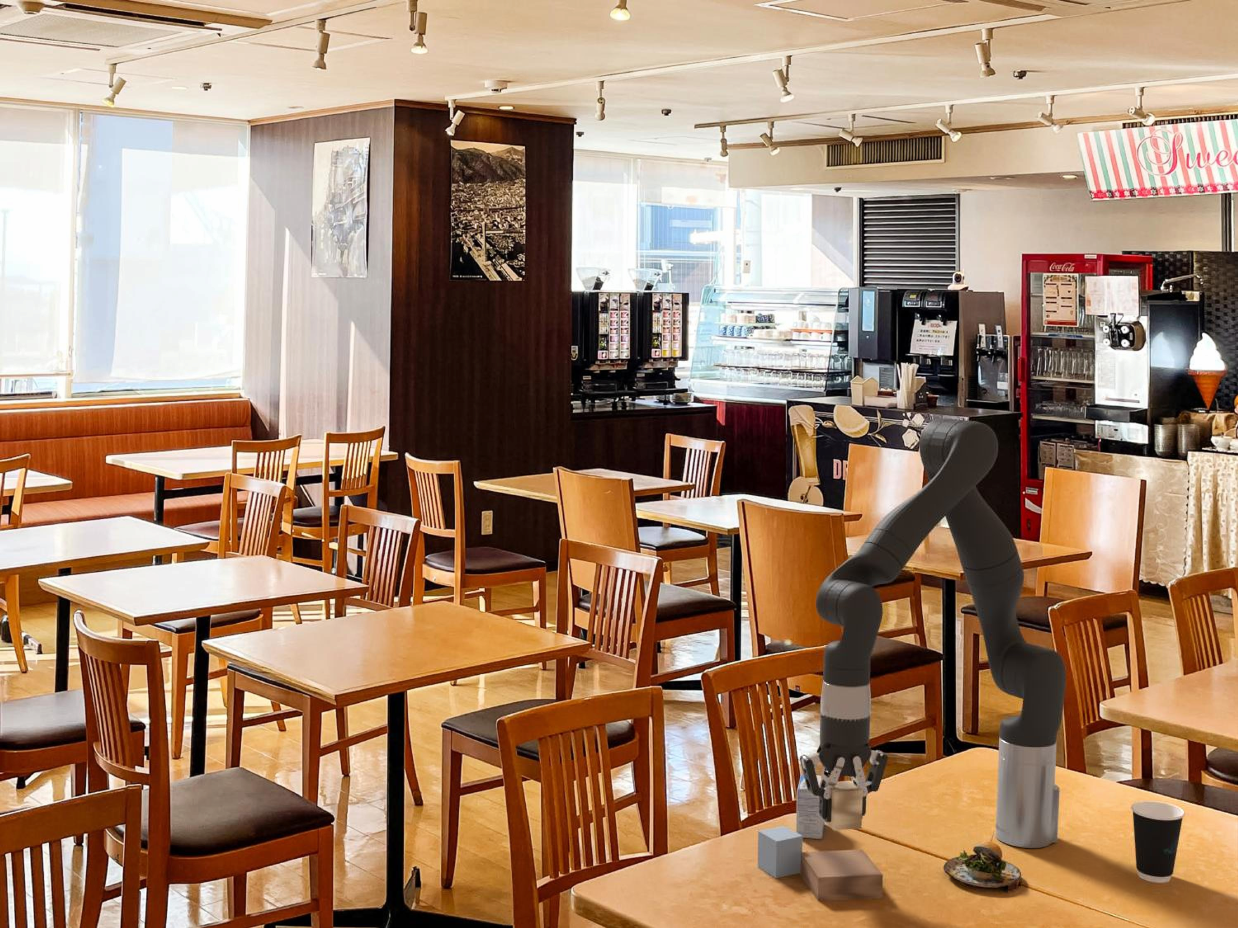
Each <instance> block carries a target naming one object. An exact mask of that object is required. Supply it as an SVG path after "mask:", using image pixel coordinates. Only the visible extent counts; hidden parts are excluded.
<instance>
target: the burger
mask: <svg viewBox="0 0 1238 928" xmlns="http://www.w3.org/2000/svg"><path fill="white" fill-rule="evenodd" d="M994 834H995V831H993V833H992V836H991V838H993V837H994ZM962 851H963V852H959V854H960V855H959V856H955V857H953V858H950V859H949V860H946V862H945V863H944V865H943V871H944V872H947V873H948V874H949V875H950V876H952V878H954V879H956V880H958V881H960V882H962V883H965V884H968V885H971V886H974V887H981V888H994V889H995V888H997V889H998V888H1002V887H1006V886H1007V893H1011V892H1013V893H1014V891H1015V890H1018V889H1019V888H1018V886H1019V884H1020V885H1022V883H1023V882H1022V872H1021V870H1020V869H1019V868H1018V867H1017V866H1016V865H1014V864H1012V863H1011V862H1008V861H1006V860H1003V859H1002V858H1003V852H1002V851H1003V850H1002V848H1001V847H1000V846H999V844H996V843H995V842H993V839H991V840H986V841H981V842H978V843H976V844H975V845H974V847H973V850H972V851H973V853H974V854H970V855H969V854H968V853H967V852H966V850H965V849H963V850H962Z"/></svg>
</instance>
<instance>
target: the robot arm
mask: <svg viewBox="0 0 1238 928" xmlns="http://www.w3.org/2000/svg"><path fill="white" fill-rule="evenodd" d="M918 446H919V448H918V449H919V455H920V460H921V463H922V467H923V468H924V470H925V473H926V475H927V478H928V480H929V482H928V483H927V484H925V485H924V486H923V487H922V488H921V489H920V490H918V491H917V492H916V493H915V494H913V495H912V496H910V497H909V498H907V499H906V500H904V501H903V502H902V503H900V504H899V505H897V506H896V507H894V508H893V509H892V510H890V512H888V513H887V514H886V515H885V516H884V517H883V518H882V519H881V520H880V521H879V523H878V524H876V526H875V527H874V529H873V530H872V532H871V533H870V534H869V535H868V537H867V538H866V539H865V541H864V543H863V544H862V545H861V547H860V549H858V551H856V553H854V554H853V555H851V556H850V557H849V558H848V559H846V560H845V561H844V562H842V564H840V565H839V566H838V567H837V568H836V569H835V570H834V571H833V572H831V573H830V574H829V575H828V576H827V577H826V578H825V580H824V581H823V582H822V583H821V585H820V587H819V589H818V592H817V594H816V598H815V608H816V612H817V614H818V616H819V617H820V618H821V619H822V620H824V621H826V622H827V623H830V624H832V625H837V626H840V627H843V628H842V629H843V630H842V634H841V638H840V640H834V641H831V642H829V643H828V644H827V645H826V646H825V648H824V652H823V669H822V670H823V673H822V677H823V678H822V687H821V694H820V714H819V715H820V716H819V717H820V718H819V746H818V748H817V750H816V752H815V753H812V754H809V755H806V754H800V756H799V761H800V765H801V770H802V775H804V778H805V782H806V785H807V789H808V790H809V791H810V792H812V794H813V795H815V796H819V814H820V816H821V817H822V818H823V820H824V821H825V822H831V811H832V799H831V798H830V797H831V795H832V790H833V789H834V786H835V785H836V784H837V782H838V781H839V778H840V779H841V778H843V777H850V779H851V781H852V782H853V784H856V785H857V786H858V788H861V789H862V790H863V799H862V819H863V818H864V817H863V816H865V815H866V813H867V798H868V797H867V796H868V795H869V794H870V793H872V792H874V793H875V792H877V791H879V790H880V786H881V783H882V779H883V777H884V773H885V770H886V766H887V763H888V759H889V757H888V755H887V754H885V753H884V752H883V751H882V750H880V749H876V750H872V749H871V747H870V743H869V742H870V736H871V735H870V734H871V711H872V703H871V702H872V698H871V696H872V695H871V686H870V685H871V683H870V682H871V657H872V653H873V650H874V648H875V644H876V641H877V639H878V638H877V637H878V633H879V630H880V628H881V624H882V619H883V610H884V609H883V603H882V598H881V596H880V594H879V592H878V591H877V590H876V589H875V586H877V585H878V586H879V585H882V584H883V585H884V584H890V583H892V582H894V581H895V580H896V579H897V578H898V576H899V575H900V574H901V572H902V571H903V569H904V568H905V567H906V565H907V564H908V562H910V560H911V558H912V557H913V556H914V554H915V552H916V551H917V550H918V548H919V547H920V546H921V544H922V543H923V541H925V540H926V538H927V537H928V536H929V535H930V533H931V532H932V530H934V529H935V527H936V526H937V525H938V524H939V523H940V522H941V521H942V520H944V518H945V519H946V522H947V525H948V528H949V531H950V535H951V536H952V539H953V542H954V545H955V548H956V551H957V555H958V558H959V562H960V566H961V568H962V572H963V574H964V578H965V581H966V583H967V586H968V589H969V591H970V594H971V598H972V601H973V603H974V608H975V610H976V614H977V617H978V621H979V624H980V627H981V632H982V636H983V642H984V646H985V650H986V651H985V652H986V657H987V661H988V666H989V667H988V668H989V670H990V671H989V672H990V674H991V677H992V679H993V682H994V684H995V685H996V687H998V689H999V690H1000V691H1001V692H1002V693H1005V694H1007V695H1010V696H1013V697H1015V698H1018V699H1021V700H1022V704H1021V711H1020V714H1018V715H1011V716H1007V717H1005V718H1003V719H1002V720H1001V721H1000V724H999V740H998V742H999V743H998V761H997V763H998V764H997V787H996V789H997V791H996V812H995V814H996V815H995V816H996V817H995V818H996V819H995V837H996V839H997V840H998V841H1000V842H1002V843H1004V844H1007V845H1010V846H1014V847H1019V848H1026V849H1027V848H1028V849H1038V848H1044V847H1048V846H1050V845H1051V844H1054V843H1058V839H1059V838H1058V834H1059V832H1058V831H1059V816H1060V815H1059V814H1060V813H1059V812H1060V810H1059V809H1060V792H1061V789H1060V786H1059V785H1057V784H1056V763H1057V762H1056V761H1057V739H1058V732H1059V730H1060V727H1061V724H1062V721H1063V715H1064V703H1065V692H1066V682H1067V680H1066V679H1067V671H1066V666H1065V661H1064V658H1063V656H1062V655H1061V654H1060V653H1059V652H1058V651H1056V650H1054V649H1050V648H1048V647H1043V646H1040V645H1036V644H1033V643H1028V642H1027V641H1026V639H1025V638H1024V636H1023V634H1022V631H1021V628H1020V626H1019V623H1018V619H1017V605H1018V602H1019V600H1020V597H1021V594H1022V590H1023V587H1024V582H1025V581H1024V580H1025V572H1024V568H1023V564H1022V560H1021V557H1020V554H1019V551H1018V548H1017V545H1016V542H1015V539H1014V537H1013V535H1012V533H1011V531H1009V528H1007V526H1006V525H1005V523H1003V521H1002V520H1001V519H1000V518H999V516H998V515H997V514H996V512H995V511H994V510H993V509H992V508H991V507H990V505H988V503H987V502H986V501H985V499H984V498H983V497H982V496H981V494H980V492H979V491H978V488H977V485H978V484H979V483H980V482H981V481H982V480H983V479H984V478H985V477H986V475H987V474H988V473H989V472H990V470H991V469H992V468H993V466H994V465H995V462H996V459H997V458H998V454H999V441H998V437H997V435H996V433H995V431H994V430H993V428H991V427H990V426H989V425H988V424H985V423H982V422H980V421H974V420H966V419H965V420H963V419H954V418H937V419H933V420H931V421H929V422H928V423H926V425H925V426H924V428H923V429H922V431H921V433H920V438H919V444H918ZM819 761H820V763H821V764H822V766H823V768H822V772H821V775H820V776H821V782H820V785H819V784H818V780H817V776H816V775H817V773H816V769H817V768H818V762H819ZM868 761H869V763H870V767H869V770H868V773H867V776H865V774H864V773H865V772H864V769H863V768H864V766H866V764H867V762H868Z"/></svg>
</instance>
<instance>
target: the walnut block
mask: <svg viewBox="0 0 1238 928" xmlns="http://www.w3.org/2000/svg"><path fill="white" fill-rule="evenodd" d="M799 874H800V876H801V878H802V880H803V881H804V883H805V884H806V885H807V887H808V889H809V890H810V891H811V893H812V894H813V896H814V897H815V899H816V901H817V902H820V901H821V902H822V901H823V902H824V901H839V900H840V901H843V900H846V901H847V900H861V899H864V900H865V899H867V900H868V899H882V898H883V879H884V878H883V877H884V874H883V873H882V872H881V870H880V869H879V868H878V867H877V866H876V864H875V863H874V861H872V859H871V858H870V857H869V856H868V855H867V853H866V852H865V851H864V850H863V849H846V850H843V849H842V850H823V851H806V852H805V851H802V852H801V866H800V873H799Z"/></svg>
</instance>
